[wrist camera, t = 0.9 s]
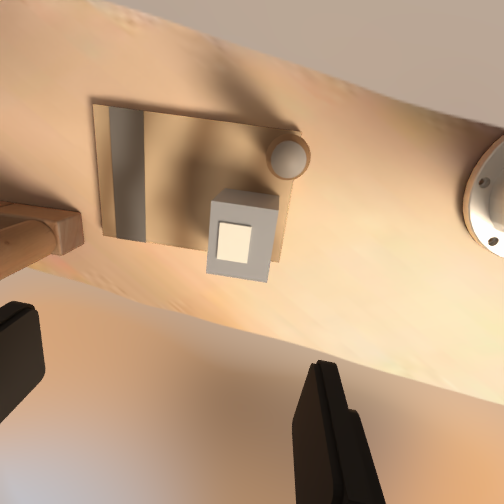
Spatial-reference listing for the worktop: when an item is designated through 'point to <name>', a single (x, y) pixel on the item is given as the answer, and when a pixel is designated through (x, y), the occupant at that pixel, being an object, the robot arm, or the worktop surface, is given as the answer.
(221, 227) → the block
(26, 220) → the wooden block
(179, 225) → the panel
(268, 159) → the grey-capped wooden cylinder
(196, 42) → the worktop surface
